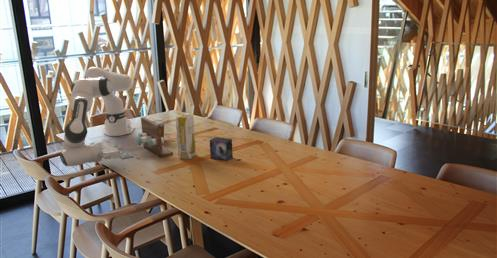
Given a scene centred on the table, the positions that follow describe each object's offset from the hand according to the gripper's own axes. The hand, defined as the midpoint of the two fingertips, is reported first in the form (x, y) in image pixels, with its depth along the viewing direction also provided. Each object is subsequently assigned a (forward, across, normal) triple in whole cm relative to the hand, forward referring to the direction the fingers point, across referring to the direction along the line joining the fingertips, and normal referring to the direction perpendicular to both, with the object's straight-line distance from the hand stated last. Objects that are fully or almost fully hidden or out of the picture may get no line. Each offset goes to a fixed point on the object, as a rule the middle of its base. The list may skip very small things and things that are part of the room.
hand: (122, 147), depth 218 cm
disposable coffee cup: (+30, +26, +8) cm, 41 cm away
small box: (+44, -26, +9) cm, 52 cm away
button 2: (+18, 0, +3) cm, 19 cm away
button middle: (+15, +7, +3) cm, 17 cm away
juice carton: (+30, -12, +9) cm, 34 cm away
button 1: (+18, +14, +3) cm, 23 cm away
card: (+4, +12, +8) cm, 16 cm away
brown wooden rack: (+22, +7, +8) cm, 24 cm away
